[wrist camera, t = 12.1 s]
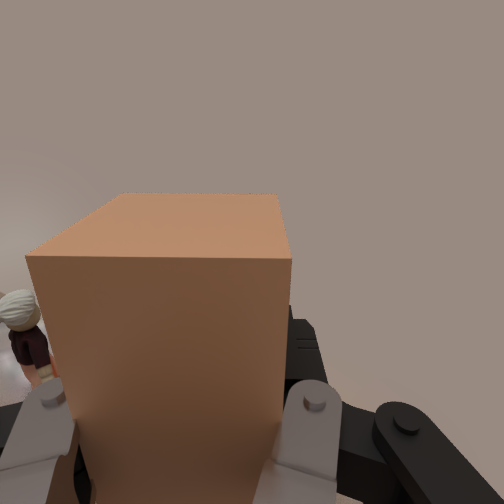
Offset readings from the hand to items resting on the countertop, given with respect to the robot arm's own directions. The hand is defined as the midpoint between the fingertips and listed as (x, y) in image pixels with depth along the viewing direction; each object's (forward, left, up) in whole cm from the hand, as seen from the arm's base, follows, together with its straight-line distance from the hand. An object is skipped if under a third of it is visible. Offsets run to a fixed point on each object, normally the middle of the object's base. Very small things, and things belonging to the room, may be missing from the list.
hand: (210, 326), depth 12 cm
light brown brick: (+1, -3, -7) cm, 8 cm away
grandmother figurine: (-22, +2, -20) cm, 30 cm away
